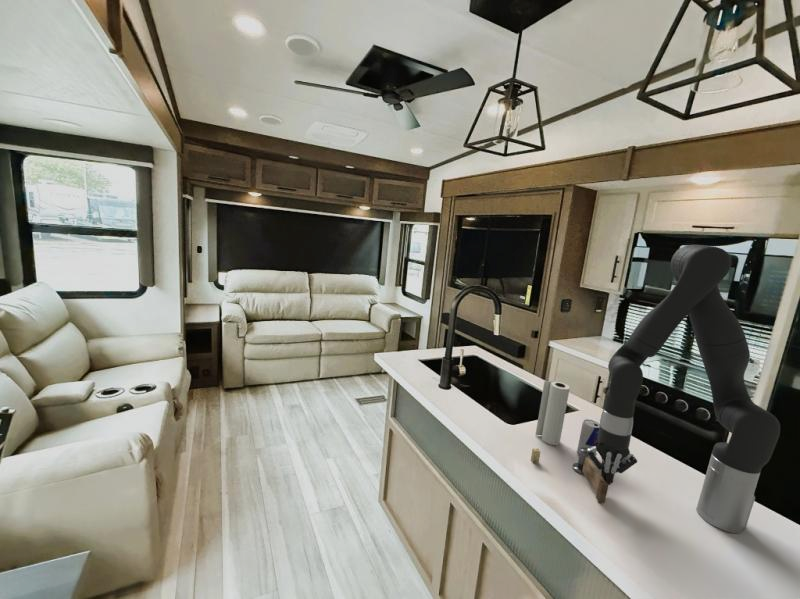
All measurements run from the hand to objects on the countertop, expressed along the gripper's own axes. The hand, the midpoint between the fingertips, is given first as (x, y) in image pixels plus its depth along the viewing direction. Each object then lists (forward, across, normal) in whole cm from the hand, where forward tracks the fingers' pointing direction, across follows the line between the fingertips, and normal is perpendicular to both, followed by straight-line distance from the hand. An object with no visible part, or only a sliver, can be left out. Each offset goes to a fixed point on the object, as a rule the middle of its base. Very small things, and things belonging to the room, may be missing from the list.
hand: (606, 482), depth 99 cm
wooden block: (+2, -3, +1) cm, 4 cm away
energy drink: (+3, -1, +17) cm, 17 cm away
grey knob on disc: (+3, -4, +8) cm, 10 cm away
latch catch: (+2, -18, +8) cm, 20 cm away
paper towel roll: (+3, -11, +23) cm, 26 cm away
